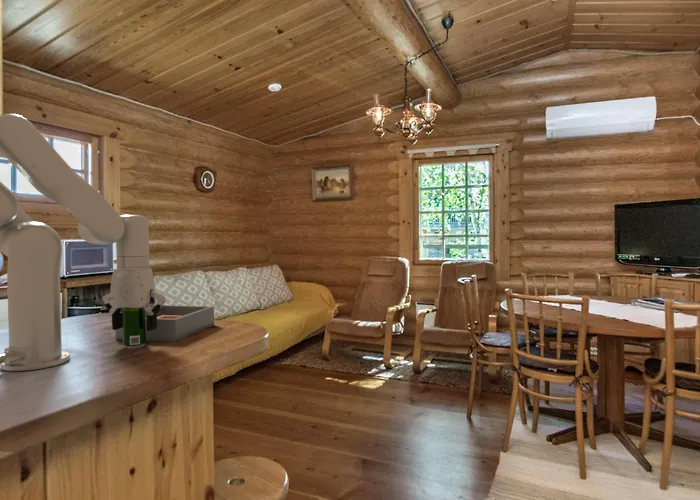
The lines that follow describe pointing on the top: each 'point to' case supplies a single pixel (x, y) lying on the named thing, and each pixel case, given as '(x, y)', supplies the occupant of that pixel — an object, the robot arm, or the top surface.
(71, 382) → the top surface
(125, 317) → the beer can
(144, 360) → the top surface
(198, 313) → the walled box
